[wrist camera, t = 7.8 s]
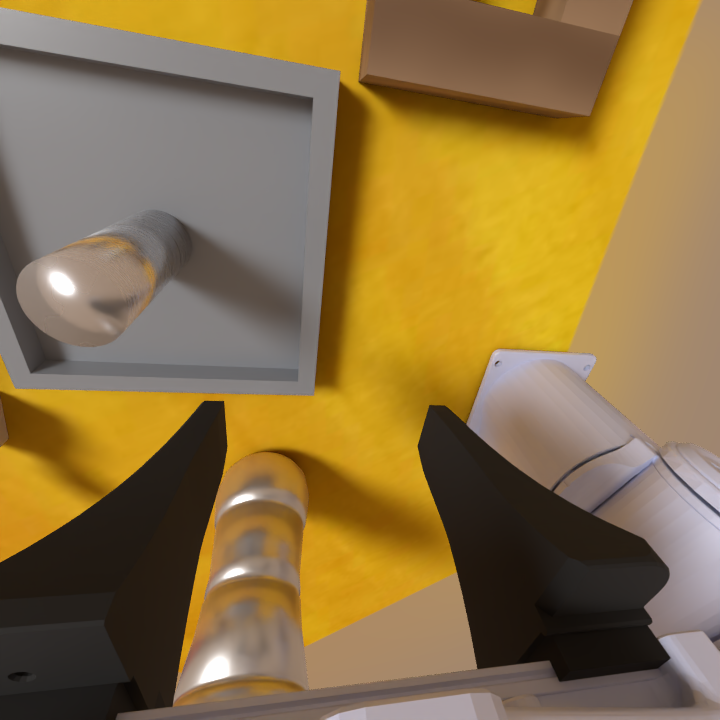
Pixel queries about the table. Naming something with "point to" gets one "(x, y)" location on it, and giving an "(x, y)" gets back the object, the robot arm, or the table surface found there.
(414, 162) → the table surface
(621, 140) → the table surface
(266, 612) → the plastic bottle
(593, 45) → the block
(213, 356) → the tray
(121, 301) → the steel pin
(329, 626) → the table surface
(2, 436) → the lighter
